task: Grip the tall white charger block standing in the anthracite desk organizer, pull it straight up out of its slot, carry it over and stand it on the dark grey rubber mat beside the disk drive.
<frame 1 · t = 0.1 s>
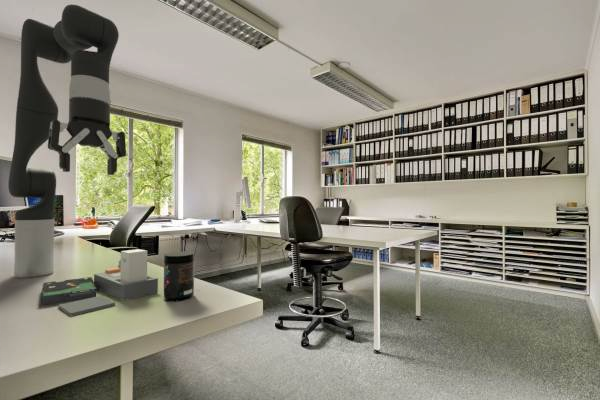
hand: (89, 173, 67), 29 cm above the table, tool pointing down, fingers open, 8 cm apart
mat: (87, 306, 64), on the table
frog figurine: (129, 277, 91), on the table
charger: (133, 283, 74), point 2 cm above the table, touching desk organizer
desk organizer: (124, 289, 77), on the table
disk drive: (69, 296, 73), on the table
supplement container: (178, 298, 71), on the table
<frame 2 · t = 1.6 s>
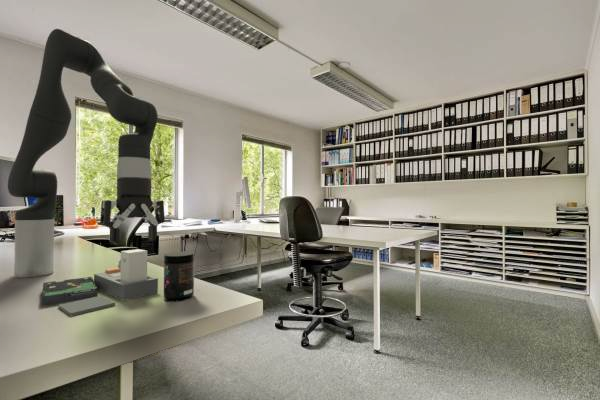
hand: (134, 242, 74), 13 cm above the table, tool pointing down, fingers open, 8 cm apart
nothing on the table moved.
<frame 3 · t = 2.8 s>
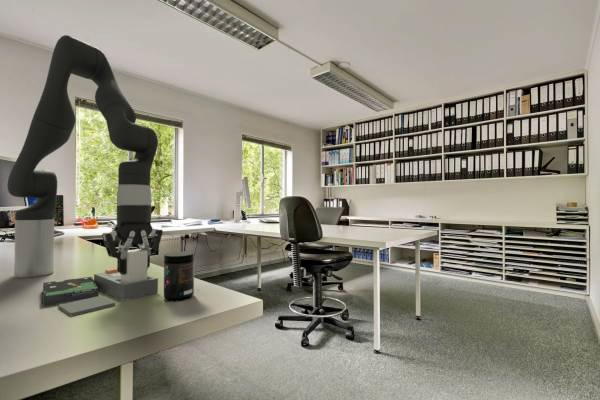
hand: (133, 271, 74), 5 cm above the table, tool pointing down, fingers closed on charger, 4 cm apart
charger: (133, 283, 74), point 3 cm above the table, touching gripper, desk organizer
everything else where it was.
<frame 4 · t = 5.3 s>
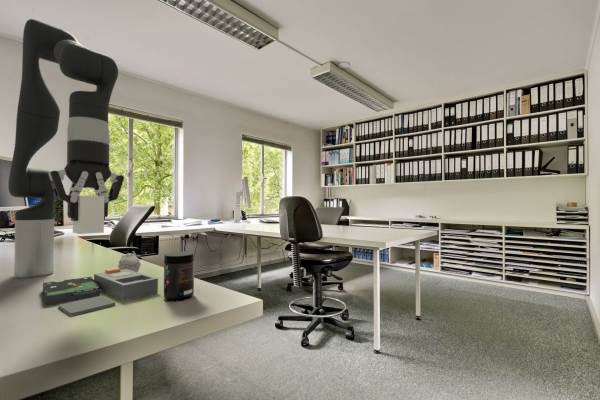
hand: (88, 219, 65), 19 cm above the table, tool pointing down, fingers closed on charger, 4 cm apart
charger: (88, 232, 65), point 16 cm above the table, touching gripper
everything else where it was.
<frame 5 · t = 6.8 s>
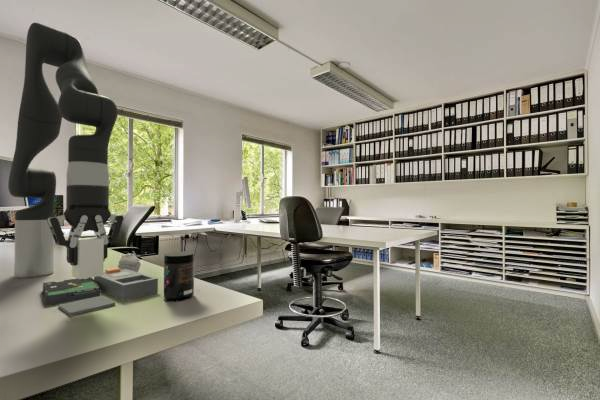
hand: (87, 262, 65), 9 cm above the table, tool pointing down, fingers closed on charger, 4 cm apart
charger: (87, 275, 65), point 7 cm above the table, touching gripper
everything else where it was.
when the fingers open (5 cm above the table, at t = 8.1 s): charger drops 2 cm, resting on mat.
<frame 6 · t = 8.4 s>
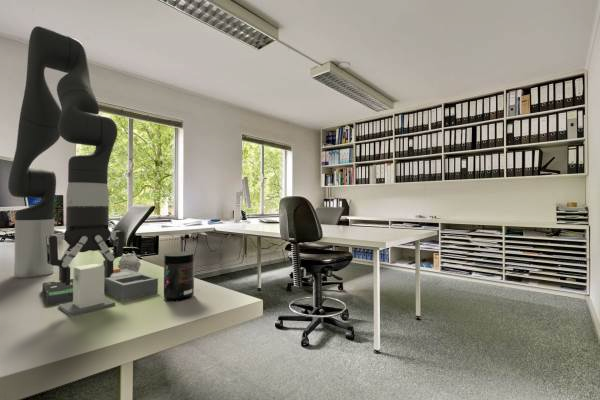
hand: (87, 280, 65), 6 cm above the table, tool pointing down, fingers open, 7 cm apart
charger: (88, 303, 65), point 1 cm above the table, touching mat
everything else where it was.
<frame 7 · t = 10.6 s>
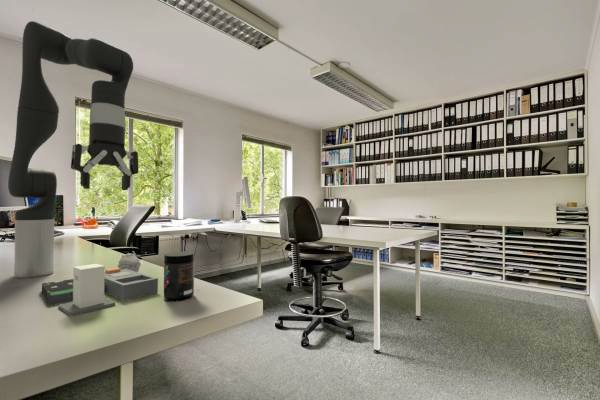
hand: (106, 189, 75), 26 cm above the table, tool pointing down, fingers open, 8 cm apart
nothing on the table moved.
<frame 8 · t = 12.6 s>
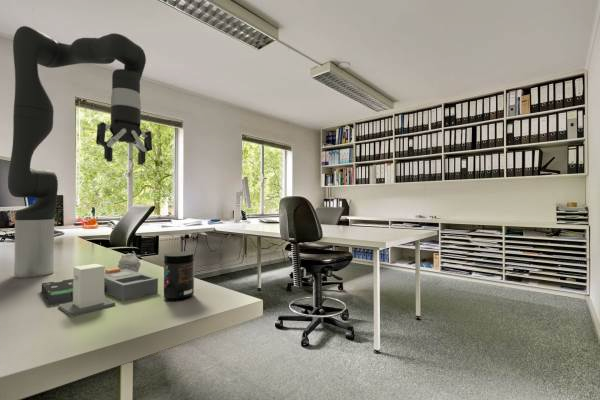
hand: (125, 163, 87), 34 cm above the table, tool pointing down, fingers open, 8 cm apart
nothing on the table moved.
at the end: charger inside the target area on the mat (0.3 cm from its centre), point 0.6 cm above the mat's base; charger tilted 0°; charger touching mat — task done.
